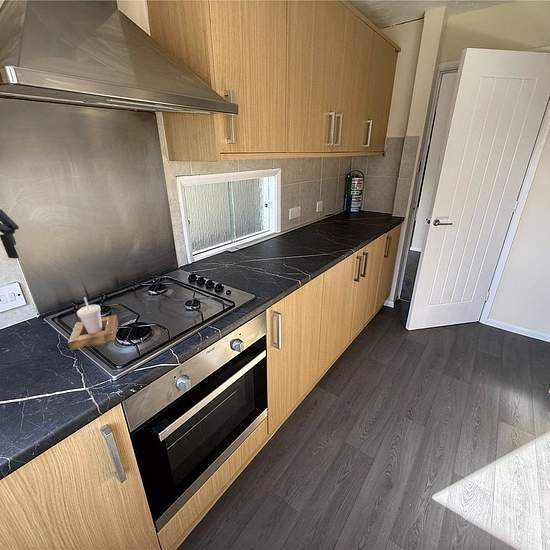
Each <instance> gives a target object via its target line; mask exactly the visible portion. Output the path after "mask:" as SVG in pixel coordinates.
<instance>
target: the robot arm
mask: <svg viewBox="0 0 550 550" xmlns="http://www.w3.org/2000/svg"><path fill="white" fill-rule="evenodd" d="M19 229H20V226H19V225H18V224H17V223H16V222H15V221H14V220H13V219H12V218H11V217H10V216H9V215H8V214H7V213H6V212H5V211H4V210H2V208H0V233H1V234H0V241H1V244H2V245H3V248H4V250H5V252H6V255H7V258H8V259H19V258H20V256H19V253H18V251H17V248H16V245H17V242H16V238H15V236H14V234H16V230H19Z"/></svg>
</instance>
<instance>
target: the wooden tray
mask: <svg viewBox="0 0 550 550" xmlns="http://www.w3.org/2000/svg"><path fill="white" fill-rule="evenodd" d="M101 321H102V328H103V329H104V330H103V331H101V332H96V333H91V334H88V332H87V330H86V328H85V326H84V324H83V322H82V321H77V322H76V323H75V325H74V327H73V329H72V332H71V334H70V336H69V339H68V341H67V344H68V347H69V349H70V351H75V350H79V349H78V348H80V347H83V346H87V347H86V348H88V347H93V346H98V345H103V344H106V343H111V342H114V341H116V336H117V332H118V328H119V327H118V326H119V320H118V315H117V314H113V315H108V316H107V315H106V316H101ZM116 331H117V332H116ZM80 349H81V348H80Z"/></svg>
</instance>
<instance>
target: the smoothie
mask: <svg viewBox="0 0 550 550" xmlns="http://www.w3.org/2000/svg"><path fill="white" fill-rule="evenodd" d="M83 300H84V303H85V306H83V307H80V308H79V309H78V310H77V311H76V315H77V317H79V318H80V322H83V324H84V326H85V328H86V330H87V332H86V333H87V334H91V333H96V332H101V331H104V330H103V328H102V321H101V318H102V315H101V311H102V308H101V305H99V304H89V303H88V299H87V297H86V296H84V297H83Z"/></svg>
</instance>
